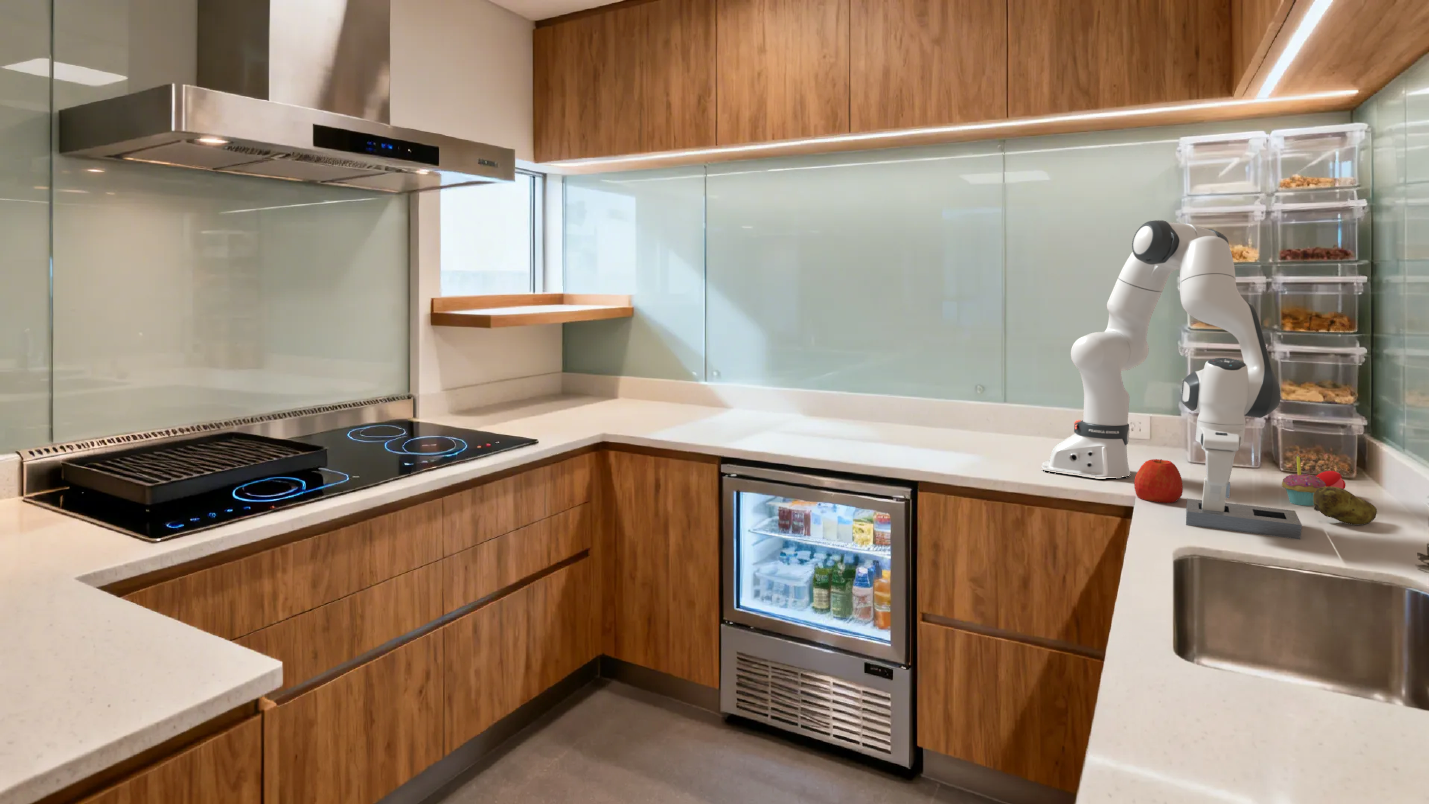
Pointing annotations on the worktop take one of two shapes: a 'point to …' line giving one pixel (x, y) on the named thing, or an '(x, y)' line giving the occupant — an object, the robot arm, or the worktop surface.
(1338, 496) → the potato
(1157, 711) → the worktop surface
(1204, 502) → the plug
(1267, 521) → the panel
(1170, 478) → the apple
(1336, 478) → the cap
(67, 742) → the worktop surface
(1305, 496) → the cupcake
